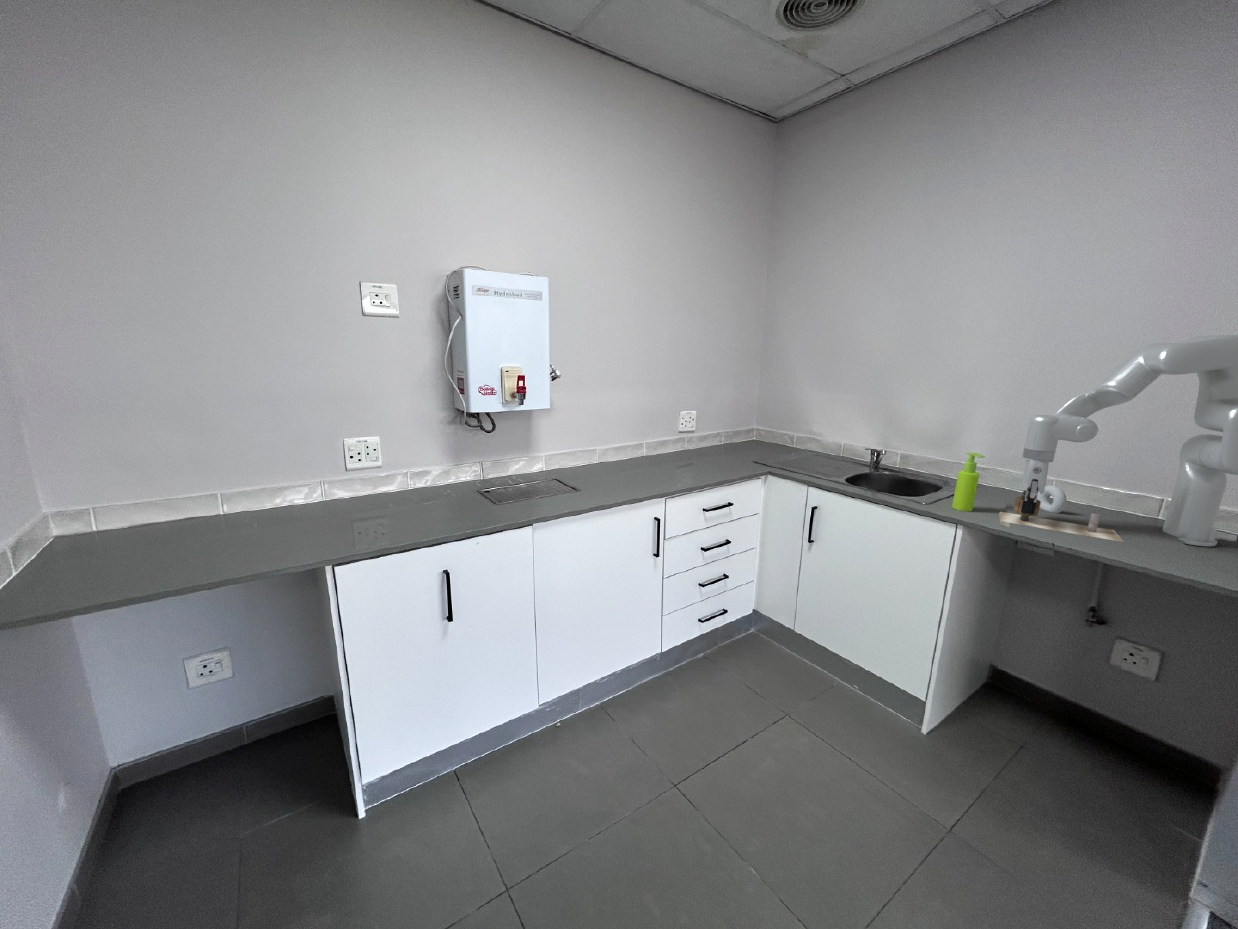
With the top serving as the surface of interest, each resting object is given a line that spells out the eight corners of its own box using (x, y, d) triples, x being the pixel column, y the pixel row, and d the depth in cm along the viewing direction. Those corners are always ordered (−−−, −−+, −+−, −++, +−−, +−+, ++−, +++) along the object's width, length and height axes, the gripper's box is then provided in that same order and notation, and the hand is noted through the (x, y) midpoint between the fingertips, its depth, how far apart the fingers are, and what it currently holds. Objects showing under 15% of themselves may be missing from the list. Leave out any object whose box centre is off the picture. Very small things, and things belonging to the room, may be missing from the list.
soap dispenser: (964, 512, 170) (975, 455, 165) (947, 506, 176) (958, 451, 172) (979, 512, 171) (990, 455, 166) (961, 505, 177) (972, 450, 173)
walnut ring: (1036, 512, 159) (1039, 499, 158) (1038, 517, 154) (1041, 503, 153) (1012, 508, 162) (1015, 495, 161) (1014, 513, 157) (1017, 499, 156)
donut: (1065, 518, 166) (1072, 490, 163) (1055, 518, 166) (1062, 489, 163) (1041, 509, 175) (1047, 482, 173) (1031, 509, 175) (1037, 481, 173)
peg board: (1113, 534, 152) (1121, 505, 149) (1122, 546, 142) (1131, 515, 140) (999, 515, 167) (1004, 488, 165) (1000, 525, 157) (1006, 496, 155)
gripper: (1057, 461, 145) (1044, 520, 149) (1050, 452, 159) (1038, 506, 163) (1025, 458, 149) (1013, 515, 153) (1020, 449, 163) (1009, 502, 167)
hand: (1026, 510), depth 158 cm, fingers closed on walnut ring, 6 cm apart
